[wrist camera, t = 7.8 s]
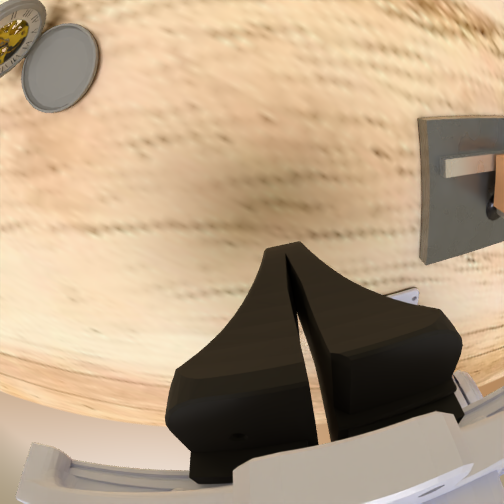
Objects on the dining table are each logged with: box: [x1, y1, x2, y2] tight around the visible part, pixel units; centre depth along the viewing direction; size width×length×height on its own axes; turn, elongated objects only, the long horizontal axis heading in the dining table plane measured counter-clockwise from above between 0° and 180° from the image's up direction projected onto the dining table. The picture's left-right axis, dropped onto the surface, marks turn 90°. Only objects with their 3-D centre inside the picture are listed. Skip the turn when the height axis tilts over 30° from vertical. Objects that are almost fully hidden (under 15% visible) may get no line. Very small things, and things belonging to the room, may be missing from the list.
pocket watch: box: [0, 0, 98, 113], centre depth 10 cm, size 8×8×10 cm
